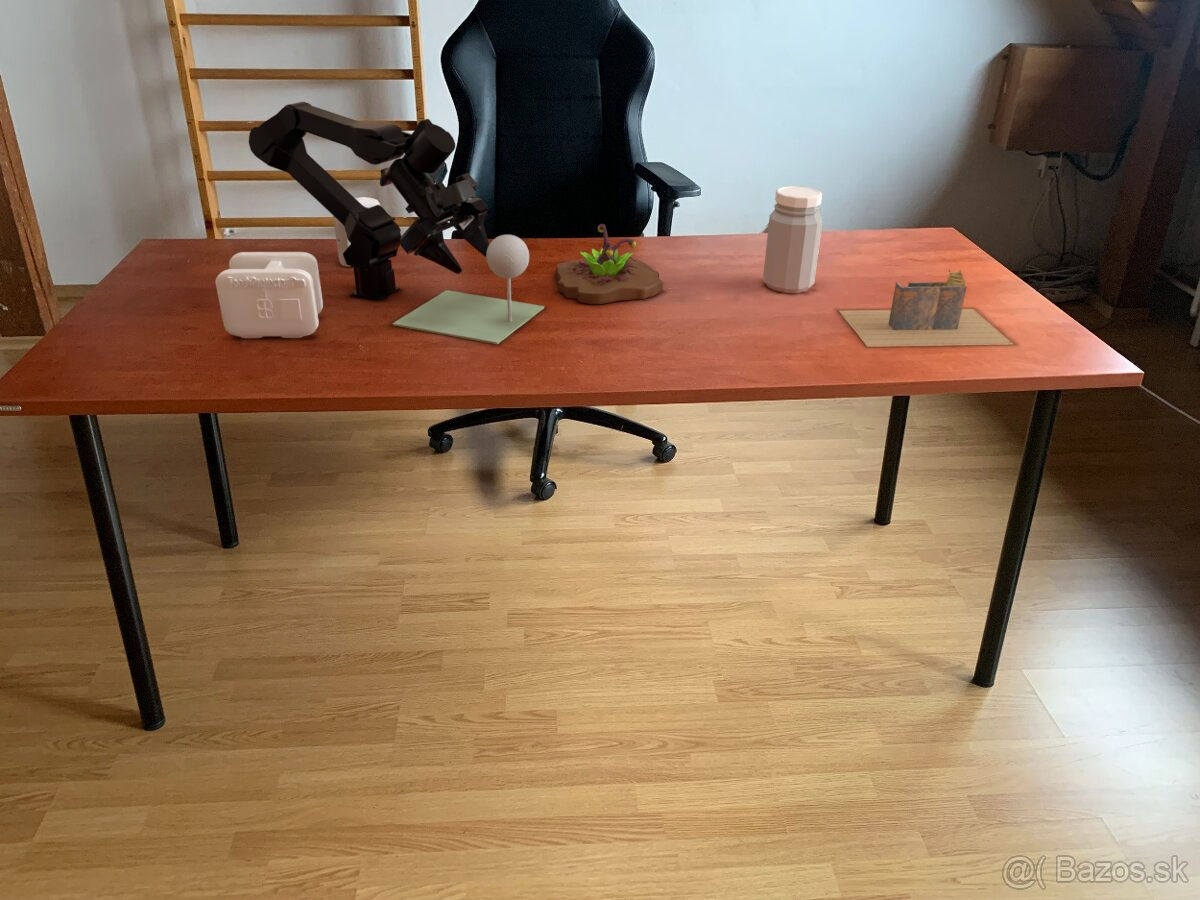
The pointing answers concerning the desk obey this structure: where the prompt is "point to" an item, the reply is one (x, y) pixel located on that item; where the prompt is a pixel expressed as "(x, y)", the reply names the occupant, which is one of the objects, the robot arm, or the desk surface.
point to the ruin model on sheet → (925, 318)
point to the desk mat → (469, 316)
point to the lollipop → (507, 261)
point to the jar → (793, 240)
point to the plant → (607, 276)
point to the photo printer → (341, 233)
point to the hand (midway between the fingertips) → (476, 264)
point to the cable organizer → (270, 294)
